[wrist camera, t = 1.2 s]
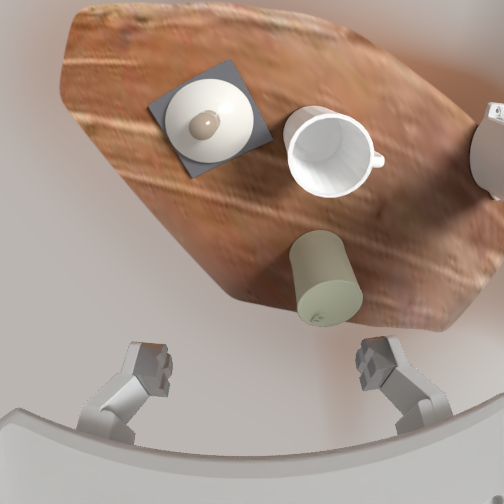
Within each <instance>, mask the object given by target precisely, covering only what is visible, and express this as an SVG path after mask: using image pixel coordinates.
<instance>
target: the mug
mask: <svg viewBox="0 0 504 504" xmlns="http://www.w3.org/2000/svg"><path fill="white" fill-rule="evenodd" d="M283 139H284V143H285V147H286V150H287V154H288V164H289V168H290V171H291V174H292V176H293V177H294V179H295V180H296V182H297V183H298V184H299V185H300V186H301V187H302V188H303V189H305V190H306V191H308V192H310V193H312V194H314V195H316V196H321V197H325V198H329V197H339V196H343V195H347V194H349V193H351V192H352V191H354V190H356V189H357V188H358V187H359V186H360V185H362V184H363V183H364V182H365V180H366V179H367V177H368V176H369V174H370V172H371V169H372V167H375V168H380V167H382V166H383V165H384V157H383V156H382V155H381V154H379V153H377V152H375V151H374V147H373V142H372V140H371V138H370V136H369V134H368V132H367V131H366V130H365V128H364V127H363V126H362V125H361V124H360V123H359V122H357V121H356V120H354V119H352V118H351V117H349V116H345V115H342V114H339V113H336V112H334V111H332V110H329V109H327V108H325V107H321V106H317V105H309V106H305V107H301V108H299V109H298V110H296V111H294V112H293V113H292V114H291V115H290V116H289V117H288V119H287V121H286V123H285V125H284V130H283Z"/></svg>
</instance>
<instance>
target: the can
mask: <svg viewBox="0 0 504 504" xmlns="http://www.w3.org/2000/svg"><path fill="white" fill-rule="evenodd" d="M289 258H290V262H291V265H292V271H293V278H294V285H295V292H296V300H297V312H298V315H299V317H300V318H301V319H302V320H303V321H304V322H306V323H308V324H310V325H313V326H319V327H326V326H333V325H337V324H340V323H342V322H345V321H346V320H348V319H350V318H351V317H352V316H354V315H355V314H356V313H357V311H358V310H359V309H360V307H361V305H362V302H363V294H362V291H361V289H360V287H359V285H358V282H357V280H356V277H355V275H354V272H353V270H352V267H351V264H350V262H349V259H348V257H347V254H346V252H345V248H344V244H343V242H342V240H341V239H340V238H339V237H338V236H337V235H336V234H334V233H332V232H330V231H326V230H315V231H311V232H308V233H305V234H303V235H302V236H300V237H299V238H298V239H297V240H296V241H295V242H294V243H293V245H292V247H291V249H290V253H289Z"/></svg>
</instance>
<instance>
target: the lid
mask: <svg viewBox="0 0 504 504" xmlns="http://www.w3.org/2000/svg"><path fill="white" fill-rule="evenodd" d="M165 126H166V131H167V135H168V137H169V139H170V141H171V143H172V144H173V146H174V147H175V148H176V149H177V150H178V151H179V152H180V153H181V154H183V155H184V156H186V157H188V158H190V159H192V160H195V161H198V162H205V163H214V162H220V161H223V160H226V159H228V158H230V157H232V156H234V155H235V154H237V153H238V152H239V151H240V150H241V149H242V148H243V147H244V146H245V144H246V143H247V141H248V140H249V138H250V135H251V133H252V129H253V110H252V107H251V104H250V102H249V100H248V99H247V97H246V96H245V94H244V93H243V92H242V91H241V90H240V89H239V88H237V87H236V86H234V85H233V84H231V83H229V82H226V81H223V80H218V79H203V80H198V81H195V82H192V83H190V84H188V85H186V86H185V87H183V88H182V89H180V90H179V91H178V92H177V93H176V94H175V96H174V97H173V98H172V100H171V101H170V103H169V105H168V108H167V111H166V116H165Z"/></svg>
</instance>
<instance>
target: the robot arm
mask: <svg viewBox="0 0 504 504" xmlns="http://www.w3.org/2000/svg"><path fill="white" fill-rule="evenodd" d="M470 167H471V172H472V175H473V178H474V180H475V181H476V183H477V184H478V185H479V186H480V187H481V188H483V189H485V190H487V191H488V192H489V193H490V195H491V196H492V198H493V199H495V200H497V201H498V200H502V201H503V202H504V104H501V103H491V102H490V103H488V104H487V106H486V109H485V113H484V118H483V120H482V122H481V123H480V125H479V126H478V128H477V130H476V132H475V134H474V137H473V140H472V144H471V149H470ZM361 346H362V347H361V348H360V349H359V350H358V351H357V353H356V360H355V361H356V367H357V370H358V371H359V372H360V373H361V376H360V383H361V386H362V390H363V391H367V390H373V389H379V388H380V390H381V391H382V392H383V394H385V396H386V397H387V398H388V399H389V400H390V401H391V402H392V403H393V404H394V405H395V407H396V408H397V409H398V410H399V411H400V412H401V413H402V414H403V415H404V416H403V417H402V418H401V419H400V420H399V421H398V422H397V423H396V424H395V426H396V430H397V434H398V435H397V436H394V437H390V438H387V439H382V440H378V441H374V442H370V443H365V444H361V445H356V446H350V447H345V448H340V449H334V450H327V451H320V452H311V453H302V454H291V455H278V456H277V455H276V456H215V455H200V454H188V453H180V452H171V451H165V450H158V449H151V448H146V447H141V446H136V445H134V440H135V433H134V431H132V429H130V428H129V427H128V426H127V425H126V424H127V423H128V422H129V420H130V419H131V418H132V417H133V416H134V415H135V413H136V412H137V411H138V410H139V409H140V407H141V406H142V405H143V404H144V403H145V402H146V400H147V399H148V398H149V396H159V397H168V392H169V386H170V383H169V381H168V378H169V377H170V376H171V375H172V368H173V366H172V365H173V363H172V358H171V355H170V354H168V353H167V351H168V348H167V346H166V344H154V343H143V342H131V343H130V345H129V347H128V350H127V353H126V357H125V360H124V363H123V367H122V370H121V373H117V374H116V375H115V376H114V377H113V378H112V379H110V380H109V381H108V382H107V383H106V384H105V385H104V386H103V387H102V388H101V389H99V390H98V391H97V392H96V393H95V394H94V395H93V396H92V397H90V398H89V399H88V400H87V401H86V402H85V403H84V404H83V407H82V410H81V414H80V417H79V421H78V425H77V428H76V430H75V429H72V428H69V427H66V426H63V425H61V424H58V423H55V422H53V421H50V420H48V419H45V418H43V417H40V416H38V415H36V414H33V413H31V412H29V411H27V410H25V409H22V408H16V409H14V410H12V411H11V412H10V413H8V414H7V415H5V416H4V417H3V418H1V419H0V504H504V393H501V394H499V395H496V396H494V397H493V398H491V399H489V400H487V401H485V402H483V403H481V404H479V405H477V406H474V407H472V408H470V409H468V410H466V411H464V412H461V413H459V414H457V415H454V416H453V413H452V410H451V408H450V404H449V402H448V399H447V396H446V394H445V392H444V391H443V390H442V389H440V388H439V387H438V386H437V385H436V384H435V383H433V382H432V381H431V380H430V379H429V378H427V377H426V376H425V375H424V374H422V373H421V372H420V371H419V370H418V369H416V368H415V367H414V366H413V365H411V364H410V365H408V362H407V360H406V357H405V355H404V352H403V350H402V347H401V345H400V342H399V340H398V338H397V336H396V335H390V336H381V337H374V338H367V339H364V340H362V342H361Z"/></svg>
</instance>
